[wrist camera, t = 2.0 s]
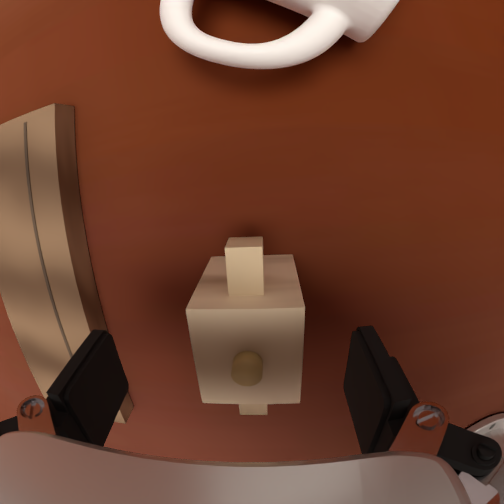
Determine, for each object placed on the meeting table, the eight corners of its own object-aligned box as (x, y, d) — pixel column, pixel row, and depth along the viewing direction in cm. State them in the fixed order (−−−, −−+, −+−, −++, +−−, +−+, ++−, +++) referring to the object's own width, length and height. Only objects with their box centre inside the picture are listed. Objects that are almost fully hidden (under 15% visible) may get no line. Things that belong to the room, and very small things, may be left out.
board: (133, 406, 21) (125, 424, 19) (58, 391, 22) (48, 405, 20) (74, 106, 14) (53, 103, 12) (-6, 135, 15) (-26, 136, 13)
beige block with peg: (291, 358, 19) (298, 441, 13) (222, 359, 19) (206, 440, 13) (292, 217, 16) (309, 263, 10) (208, 220, 16) (172, 266, 10)
